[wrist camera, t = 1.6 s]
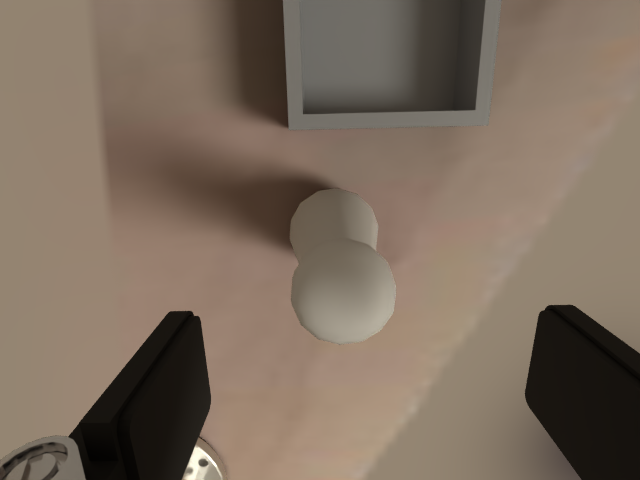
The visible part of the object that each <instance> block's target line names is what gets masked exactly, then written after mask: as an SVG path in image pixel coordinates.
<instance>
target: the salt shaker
mask: <svg viewBox="0 0 640 480" xmlns="http://www.w3.org/2000/svg"><path fill="white" fill-rule="evenodd" d="M377 234H378V224H377V221H376V218H375V215H374V212H373V210H372V208H371V207H370V206H369V205H368V204H367V203H366V202H365V201H364V200H363V199H362V198H361V197H360V196H359V195H358V194H355V193H352V192H348V191H345V190H342V189H339V188H335V189H328V190H321V191H317V192H316V193H314V194H313V195H311V196H310V197H308V198H307V199H305V200H304V201H302V202H301V203H300V205H299V206H298V208H297V210H296V212H295V214H294V215H293V217H292V219H291V226H290V242H291V244H292V247H293V250H294V252H295V255H296V257H297V260H298V263H299V265H298V266H297V268H296V270H295V272H294V274H293V277H292V290H291V302H292V306H293V308H294V311H295V313H296V315H297V317H298V319H299V321H300V323H301V325H302V326H303V327H304V328H305V329H306V330H308V331H309V332H310V333H311V334H312V335H314V336H315V337H316V338H317V339H319V340H323V341H327V342H331V343H335V344H339V345H341V344H349V343H357V342H362V341H364V340H366V339H367V338H369V337H371V336H372V335H374V334H376V333H377V332H379V331H381V329H382V328H383V327H384V325H385V324H386V322H387V321H388V320H389V318H390V317H391V315H392V314H393V312H394V304H395V297H396V284H395V281H394V279H393V276H392V273H391V270H390V267H389V264H388V263H387V261H386V260H385V259H384V258H383V257H382V256H381V255H380V254H379V253H378V252H377V251H376V242H377Z"/></svg>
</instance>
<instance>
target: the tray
mask: <svg viewBox="0 0 640 480" xmlns="http://www.w3.org/2000/svg"><path fill="white" fill-rule="evenodd" d="M500 9H501V0H283V13H284V35H285V57H286V80H287V102H288V124H289V130H318V129H361V128H404V127H447V126H483V125H489V116H490V106H491V96H492V87H493V77H494V67H495V58H496V48H497V38H498V29H499V19H500Z"/></svg>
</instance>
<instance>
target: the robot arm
mask: <svg viewBox="0 0 640 480" xmlns="http://www.w3.org/2000/svg"><path fill="white" fill-rule="evenodd" d="M525 398H526V402H527V404H528V406H529V408H530V409H531V410H532V412H533V413H534V414H535V416H536V417H537V419H538V420H539V421H540V423H541V424H542V425H543V427H544V428H545V430H546V431H547V432H548V434H549V435H550V437H551V438H552V439H553V441H554V442H555V443H556V445H557V446H558V447H559V449H560V450H561V452H562V453H563V455H564V456H565V457H566V459H567V460H568V461H569V463H570V464H571V466H572V467H573V468H574V470H575V471H576V473H577V474H578V475H579V477H580V478H581V479H582V480H640V354H639V353H638V352H637V351H635V350H634V349H633V348H631V347H630V346H628V345H627V344H626V343H624V342H623V341H621V340H620V339H619V338H618V337H616V336H615V335H613V334H612V333H611V332H609V331H608V330H607V329H605V328H604V327H603V326H601V325H600V324H598V323H597V322H596V321H594V320H593V319H592V318H590V317H589V316H588V315H586V314H585V313H583V312H582V311H581V310H579V309H578V308H577V307H575V306H573V305H549V306H547V307H546V308H545V310H544V311H541V312H540V314H539V316H538V322H537V328H536V333H535V339H534V344H533V350H532V356H531V361H530V367H529V373H528V378H527V384H526V389H525ZM210 405H211V393H210V386H209V378H208V371H207V364H206V356H205V349H204V342H203V335H202V327H201V321H200V318H199V316H194V314H193V312H192V311H170V312H169V313H168V314H167V315H166V316H165V318H164V319H163V320H162V321H161V322H160V324H159V325H158V326H157V327H156V329H155V330H154V331H153V332H152V334H151V335H150V336H149V337H148V338H147V340H146V341H145V342H144V343H143V345H142V346H141V347H140V348H139V350H138V351H137V352H136V353H135V355H134V356H133V357H132V358H131V359H130V361H129V362H128V363H127V364H126V366H125V367H124V368H123V369H122V371H121V372H120V373H119V374H118V375H117V377H116V378H115V379H114V380H113V382H112V383H111V384H110V385H109V387H108V388H107V389H106V390H105V391H104V393H103V394H102V395H101V397H100V398H99V399H98V400H97V401H96V403H95V404H94V405H93V406H92V408H91V409H90V410H89V411H88V413H87V414H86V415H85V416H84V417H83V419H82V420H81V421H80V422H79V424H78V425H77V427H76V428H75V429H74V430H73V432H72V433H71V434H70V435H69V437H67V436H50V437H45V438H41V439H38V440H35V441H32V442H30V443H27V444H25V445H23V446H21V447H19V448H18V449H16V450H14V451H12V452H11V453H10V454H8V455H6V456H5V457H4V458H2V459H1V460H0V480H227V477H226V472H225V469H224V466H223V464H222V461H221V460H220V458H219V457H218V455H217V454H216V452H215V451H214V450H213V449H212V448H211V447H210V446H209V445H208V444H207V443H206V442H205V441H203V440H202V439H200V438H199V435H200V432H201V430H202V427H203V425H204V422H205V420H206V417H207V415H208V412H209V409H210Z"/></svg>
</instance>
